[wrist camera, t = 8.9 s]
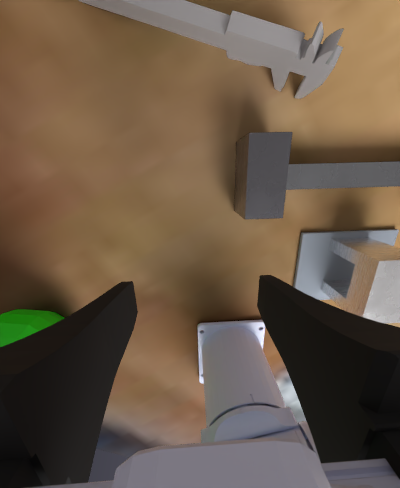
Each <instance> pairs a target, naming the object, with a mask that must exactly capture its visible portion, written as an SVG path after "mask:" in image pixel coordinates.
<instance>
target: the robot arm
mask: <svg viewBox="0 0 400 488" xmlns="http://www.w3.org/2000/svg"><path fill="white" fill-rule="evenodd" d="M257 306H258V309H259V312H260V315H261V318H262V320H248V321H229V322H211V323H200V324H198V326H197V328H198V355H199V381H200V383H204V394H205V410H206V425H207V428H205V429H202V430H201V443H193V444H179V445H166V446H158V447H154V448H150V449H146V450H142V451H138V452H136V453H135V454H134V455H133V456H131V457H130V458H129V459H127V460H126V461H125V462H124V463H122V464H121V465H120V466H119V467H118V468H117V469H116V472H115V476H114V480H113V481H101V482H89V483H88V480H89V476H90V471H91V467H92V463H93V458H94V454H95V450H96V446H97V442H98V438H99V434H100V429H101V425H102V422H103V418H104V414H105V410H106V407H107V403H108V399H109V396H110V392H111V389H112V385H113V382H114V378H115V375H116V372H117V370H118V367H119V364H120V362H121V359H122V357H123V354H124V352H125V349H126V347H127V344H128V342H129V339H130V337H131V334H132V331H133V329H134V325H135V321H136V317H137V313H138V311H137V304H136V298H135V292H134V285H133V281H131V282H121V283H119V284H117V285H116V286H114V287H113V288H111V289H110V290H109V291H107V292H106V293H104V294H103V295H101V296H100V297H98V298H97V299H95V300H94V301H92V302H91V303H89V304H88V305H86V306H85V307H83V308H81V309H80V310H78V311H77V312H75V313H73V314H71V315H70V316H68V317H66V318H64V319H62V320H60V321H59V322H57V323H55V324H53V325H51V326H49V327H47V328H44V329H42V330H40V331H38V332H36V333H34V334H31V335H29V336H27V337H25V338H22V339H20V340H17V341H15V342H13V343H10V344H7V345H5V346H2V347H0V488H400V327H396V326H392V325H388V324H384V323H381V322H377V321H374V320H371V319H367V318H364V317H361V316H358V315H355V314H352V313H349V312H347V311H344V310H341V309H339V308H336V307H334V306H331V305H329V304H327V303H324V302H322V301H320V300H318V299H316V298H314V297H311V296H309V295H307V294H305V293H303V292H302V291H300V290H298V289H296V288H294V287H292V286H290V285H289V284H287V283H285V282H283V281H281V280H280V279H278V278H276V277H274V276H271V275H261V276H260V279H259V292H258V304H257ZM260 327H261V328H260ZM265 327H266V329H267V331H268V332H269V334H270V336H271V338H272V340H273V342H274V344H275V346H276V348H277V350H278V352H279V354H280V356H281V357H282V360H283V362H284V364H285V366H286V368H287V371H288V373H289V376H290V378H291V381H292V383H293V386H294V388H295V391H296V394H297V396H298V399H299V401H300V404H301V407H302V409H303V412H304V415H305V418H306V421H307V422H306V421H302V422H299V423H298V424H297V422H296V419H295V417H294V415H293V412H292V410H291V408H290V407H286V404H285V402H284V400H283V397H282V395H281V392H280V390H279V388H278V385H277V383H276V380H275V378H274V376H273V373H272V371H271V368H270V366H269V364H268V361H267V359H266V356H265V354H264V352H263V343H264V333H265ZM201 330H203V331H201Z"/></svg>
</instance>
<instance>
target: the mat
mask: <svg viewBox="0 0 400 488" xmlns="http://www.w3.org/2000/svg"><path fill="white" fill-rule="evenodd" d="M398 231H399V230H397V229H384V230H358V231H332V232H306V233H301V237H300V244H299V251H298V257H297V264H296V271H295V278H294V285H293V287H294V288H296V289H298V290H300V291H302V292H303V293H305V294H307V295H309V296H311V297H314V298H316V299H318V300H325V299H331V298H329V297H328V296H327V295H326V294H325V293H324V292H323V291H322V290H321V287H322V282H323V280H343V279H352V275H353V271H354V267H355V264H354V263H352V262H350V261H348V260H346V259H344V258H343V257H341V256H339V255H337V254H335V253H333V252H332V251H330V250H329V247H330V242H331V239H346V238H371V239H374V240H377V241H380V242H383V243H386V244H389V245H391V246H394V244H395V240H396V237H397V234H398Z"/></svg>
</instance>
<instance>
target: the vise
mask: <svg viewBox="0 0 400 488" xmlns="http://www.w3.org/2000/svg"><path fill="white" fill-rule="evenodd" d="M291 140H292V132H266V133H248V134H247V135H246V136H244V137H243V138H241V139H240V140H238V141H237V142H236V172H235V204H234V211H235V212H237V213H238V214H239V215H240V216H242V217H243V218H244V219H269V218H283V211H284V202H285V193H286V190H290V189H322V188H355V187H388V186H400V161H399V162H360V163H321V164H289V158H290V149H291Z"/></svg>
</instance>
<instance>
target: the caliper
mask: <svg viewBox="0 0 400 488" xmlns="http://www.w3.org/2000/svg"><path fill="white" fill-rule="evenodd" d="M78 1H81V2H83V3H86V4H89V5H92V6H95V7H98V8H101V9H104V10H107V11H110V12H113V13H116V14H119V15H122V16H125V17H128V18H131V19H134V20H137V21H140V22H143V23H146V24H149V25H152V26H155V27H158V28H161V29H164V30H167V31H170V32H173V33H176V34H179V35H182V36H185V37H188V38H191V39H194V40H197V41H200V42H203V43H206V44H209V45H212V46H215V47H218V48H221V49H224V50H226V51H227V57H228V58H229V59H233V60H239V61H242V62H243V63H245V64H248V65H254V66H265V67H268V68H271V70H272V76H273V82H274V88H275V89H276V90H278V91H280V92H281V89H282V88H283V87H284V84H285V82H286V80H287V77H288V75H289V72H293V73H296V74H299V75H303V76H304V78H303V80H302V82H301V83H300V85H299V88H298V90H297V92H296V95H295V97H294V98H303V97H305V96H306V95H308V94H309V93H311V92H312V91H313V90H315V89H316V88H318V87H319V86H321V85H322V84H323V83H324V81H325V80H326V78H327V77H328V75H329V74H330V73H331V71H332V70H333V68H334V67H335V64H336V62H337V60H338V58H339V55H340V53H341V51H342V49H343V47H341V46H339V45H337V43H338V41H339V39H340V36H341V34H342V32H343V30H344V29H339V30H337V31H335V32H333V33H332V34H331V35H329V36H328V37H327V38H326V39H325V41H324V42H323V44H320V43H321V41H322V38H323V24H322V22H319V23H318V25H317V27H316V29H315V32H314V34H313V37H312V38H310V39H309V40H308V41H307V40H305V39H303V38H304V35H305V34H304V33H303V32H300V31H297V30H294V29H291V28H288V27H284V26H281V25H278V24H275V23H272V22H269V21H265V20H262V19H259V18H256V17H253V16H249V15H246V14H243V13H240V12H237V11H233V10H232V12H231V15H228V14H225V13H222V12H219V11H216V10H212V9H209V8H206V7H203V6H200V5H197V4H194V3H191V2H188V1H185V0H78Z"/></svg>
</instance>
